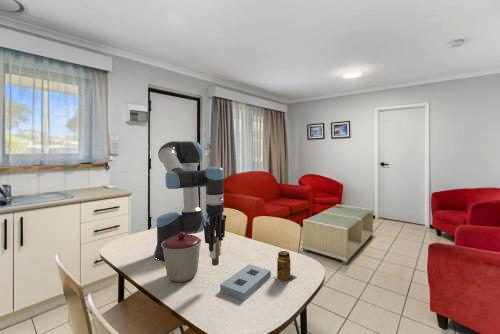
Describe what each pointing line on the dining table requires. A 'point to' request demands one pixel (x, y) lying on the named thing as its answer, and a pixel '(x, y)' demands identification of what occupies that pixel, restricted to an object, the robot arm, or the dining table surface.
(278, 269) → the condiment
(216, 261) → the peg
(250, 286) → the hole block
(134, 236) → the dining table surface
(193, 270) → the canister
